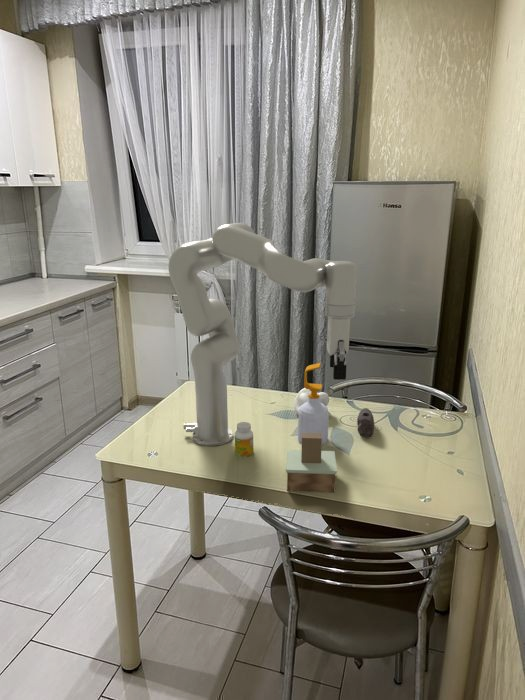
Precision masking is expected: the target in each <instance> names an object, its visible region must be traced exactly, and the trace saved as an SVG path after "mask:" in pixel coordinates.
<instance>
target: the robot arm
mask: <svg viewBox="0 0 525 700" xmlns="http://www.w3.org/2000/svg"><path fill="white" fill-rule="evenodd" d="M216 228H217V227H216ZM233 260H234V261H237V262H238V263H241V264H244V265H246V266H249V267H252V269H256V270H258V271H259V272H260V273H262V275H264V276H265V277H266V278H268V279H269V280H270V281H272V282H274V283H276V284H278V285H280V286H283V287H286V288H288V289H289V290H293V291H296V292H300V293H309V292H311V291H314V290H316V289H318V288H321V287H325V305H324V307H325V308H324V310H325V311H324V316H325V317H326V318H328V320H327V334H326V335H327V336H326V349H327V353H328V355H329V367H330V368H333V370H332V371H333V376H332V377H333V380H335V381H336V380H339V381H340V380H343V381H344V380H346V379H347V356H348V355H349V350H350V349H349V347H350V331H351V330H350V329H351V327H350V326H351V325H350V324H351V319H352V318H354V317H355V316H356V315H355V310H356V292H357V291H356V288H357V269H358V268H357V265H356V263H355V262H353V261H349V260H328V259H323V258H318V257H317V258H316V257H315V258H311V259H307V260H304V261H302V260H299V259H295V258H294V257H291V256H288V255H285V254H283V253H282V252H280V251H278V249H276V247H275V242H274V241H273V240H272V239H269V238H267V237H264V236H262V235H260V234H257V233H255V231H254V230H253V228H252V227H251V226H249V225H248V224H246V223H242V222H235V223H234V222H233V223H227V224H223V225H221V226H218V228H217V229H215V231H214V232H213V233H212V237H210V238H208V239H202V240H195V241H191V242H186V243H183V244H181V245H180V246H178V247H177V248H176V249H175V250H174V251H173V252H172V254H171V256H170V258H169V261H168V274H169V278H170V280H171V283H172V285H173V288H174V290H175V293H176V296H177V299H178V300H177V301H178V305H179V306H180V309H181V314H182V317H183V320H184V324H185V327H186V329H187V331H188V332H189V333H190V335H192V336H195V337H202V336H205V335H208V338H205V339H203V340H201V341H199V342H198V343H196V345H195V346H194V347H193V348H192V351H191V354H190V362H191V367H192V371H193V376H194V389H195V390H194V391H195V407H196V409H195V410H196V422H193V423H190V422H188V423H187V422H184V423H183V430H185V432H186V433H192V440H193V442H195V443H196V444H199V445H201V446H206V447H214V446H216V447H217V446H221V445H225V444H227V443H229V442H230V441H232V440H233V438H234V432H233V430H232V429H231V428H229V417H228V416H229V415H228V412H229V411H228V383H227V378H226V374H225V372H224V369H223V367H224V366H225V365H227V364H229V363H230V362H232V361H234V360H235V359H236V358H237V356H238V355H239V352H240V343H239V339H238V335H237V332H236V328H235V325H234V321H233V318H232V314H231V312H230V309H229V308H228V306H227V305H226V304H225V302H223V301H222V300H220V299H217V298H209V296H208V294H207V290H206V286H205V284H204V282H203V281H202V280H201V278H200V277H199V276H198V273H200V272H202V271H207V270H211V269H216V268H218V267H220V266H222V265H224V264H226V263H228V262H230V261H233Z"/></svg>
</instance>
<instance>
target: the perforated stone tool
mask: <svg viewBox="0 0 525 700" xmlns="http://www.w3.org/2000/svg"><path fill="white" fill-rule="evenodd" d="M356 425H357V432H358V435H359V436H360V437H362V438H368V439H369V438H372V437H373V436H374V432H375V419H374V415H373V413H372V411H371V410H370V409H369V408H367V407H364V408H362V409H361V410H360V411H359V413H358V415H357V422H356Z"/></svg>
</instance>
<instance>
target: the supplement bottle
mask: <svg viewBox="0 0 525 700" xmlns="http://www.w3.org/2000/svg"><path fill="white" fill-rule="evenodd" d="M251 426H252V425H251V423H250V422H247V421H241V422H238V423H236V431H235V432H234V454H235V455H234V456H235V457H237V458H239V459H249V458H251V457H252V456H253V455H254V431H253V430H252V427H251Z"/></svg>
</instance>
